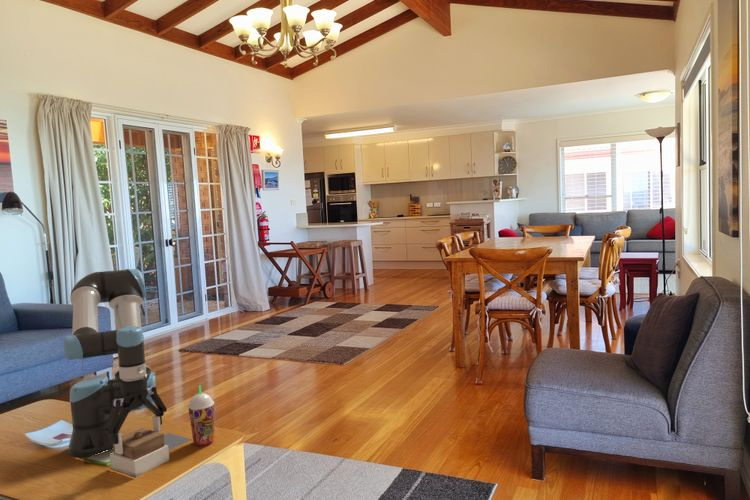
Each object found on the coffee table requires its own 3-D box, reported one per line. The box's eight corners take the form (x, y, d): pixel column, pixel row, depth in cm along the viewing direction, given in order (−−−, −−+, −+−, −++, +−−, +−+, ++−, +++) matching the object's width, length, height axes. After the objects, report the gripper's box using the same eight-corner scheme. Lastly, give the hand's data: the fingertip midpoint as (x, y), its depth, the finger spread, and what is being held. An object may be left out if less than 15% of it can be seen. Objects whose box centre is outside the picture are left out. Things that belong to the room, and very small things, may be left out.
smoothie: (209, 449, 183) (205, 390, 181) (186, 448, 184) (181, 389, 183) (221, 438, 191) (217, 381, 189) (199, 437, 193) (194, 381, 191)
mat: (139, 447, 187) (138, 446, 187) (168, 434, 197) (168, 432, 197) (162, 454, 181) (162, 453, 181) (192, 440, 191) (191, 439, 191)
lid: (113, 453, 172) (112, 436, 171) (143, 439, 181) (142, 424, 180) (135, 460, 166) (133, 443, 166) (164, 446, 175) (163, 430, 175)
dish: (111, 469, 172) (109, 453, 171) (145, 453, 182) (143, 438, 182) (135, 477, 166) (134, 461, 165) (169, 461, 176) (168, 445, 175)
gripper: (102, 392, 159) (109, 463, 161) (174, 367, 180) (179, 431, 182) (87, 388, 163) (93, 458, 165) (159, 365, 184) (164, 427, 186)
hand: (139, 444), depth 173 cm, fingers open, 13 cm apart
